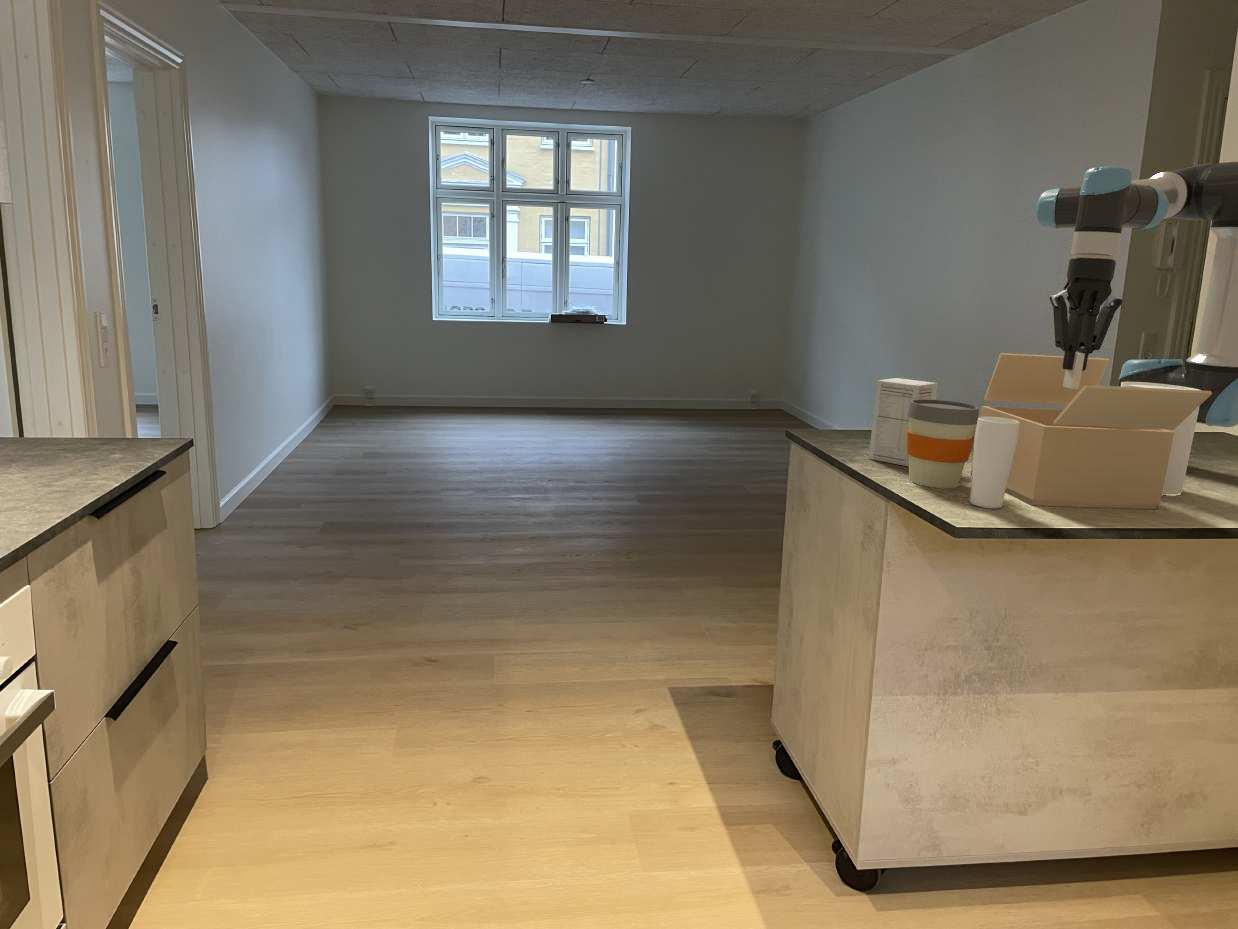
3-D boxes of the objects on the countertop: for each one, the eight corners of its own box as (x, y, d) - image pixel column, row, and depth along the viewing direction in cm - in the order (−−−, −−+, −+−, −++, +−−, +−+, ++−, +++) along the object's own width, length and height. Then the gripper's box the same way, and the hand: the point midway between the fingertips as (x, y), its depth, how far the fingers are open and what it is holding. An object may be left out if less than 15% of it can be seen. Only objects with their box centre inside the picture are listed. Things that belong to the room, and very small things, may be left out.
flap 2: (1210, 390, 145) (1212, 393, 145) (1172, 426, 153) (1173, 429, 153) (1085, 384, 143) (1086, 387, 142) (1053, 421, 151) (1054, 424, 151)
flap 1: (1090, 405, 176) (1088, 403, 176) (1109, 359, 170) (1108, 358, 171) (985, 400, 173) (983, 399, 174) (1001, 354, 168) (1000, 352, 168)
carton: (1083, 479, 179) (1095, 411, 176) (1158, 509, 157) (1174, 432, 154) (970, 475, 176) (981, 405, 173) (1031, 505, 155) (1044, 426, 152)
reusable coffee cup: (884, 476, 170) (894, 399, 167) (930, 472, 176) (940, 398, 173) (936, 493, 160) (948, 410, 156) (983, 488, 166) (995, 409, 162)
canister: (1183, 500, 166) (1205, 394, 161) (1102, 487, 172) (1121, 385, 168) (1179, 486, 177) (1199, 387, 173) (1103, 475, 184) (1121, 379, 179)
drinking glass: (957, 499, 156) (970, 415, 152) (994, 500, 156) (1007, 417, 153) (976, 510, 149) (989, 422, 146) (1014, 511, 150) (1028, 424, 146)
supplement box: (929, 462, 187) (940, 382, 183) (909, 467, 180) (920, 385, 176) (887, 453, 193) (896, 376, 189) (866, 458, 186) (876, 379, 183)
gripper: (1113, 259, 163) (1091, 386, 169) (1047, 255, 162) (1026, 383, 167) (1140, 259, 156) (1116, 392, 161) (1071, 255, 155) (1049, 389, 160)
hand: (1070, 387), depth 164 cm, fingers closed
